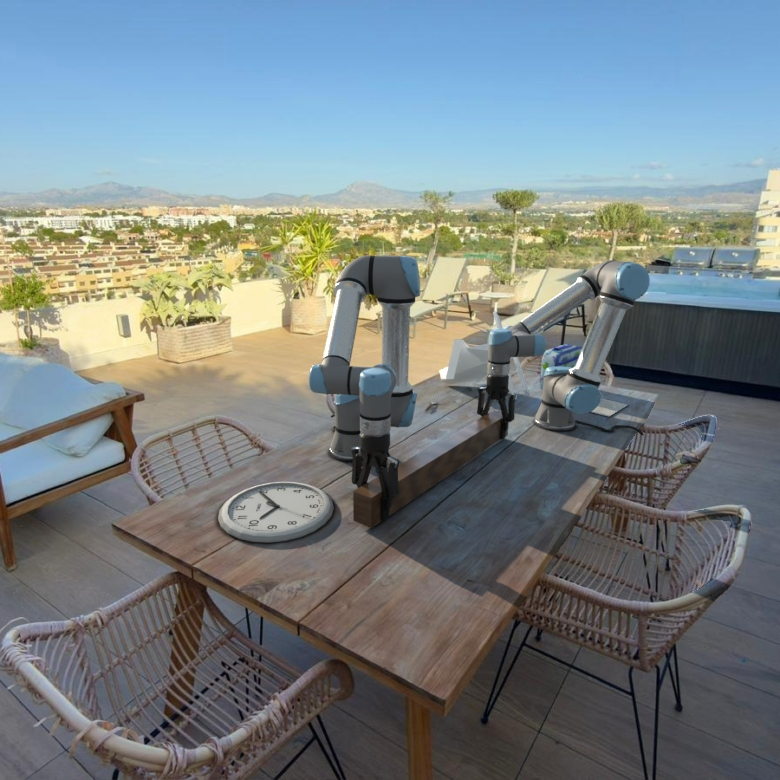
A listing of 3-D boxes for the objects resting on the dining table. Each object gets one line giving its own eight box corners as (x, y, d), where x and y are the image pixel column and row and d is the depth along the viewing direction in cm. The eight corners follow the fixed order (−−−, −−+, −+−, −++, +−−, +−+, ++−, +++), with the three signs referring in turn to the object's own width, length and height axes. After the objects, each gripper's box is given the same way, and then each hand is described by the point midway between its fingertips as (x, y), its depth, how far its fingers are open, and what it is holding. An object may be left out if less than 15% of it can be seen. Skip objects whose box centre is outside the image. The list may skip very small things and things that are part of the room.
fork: (422, 411, 216) (422, 407, 215) (433, 400, 230) (433, 396, 230) (428, 412, 215) (429, 407, 215) (438, 401, 230) (439, 396, 229)
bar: (492, 431, 193) (494, 409, 191) (507, 435, 190) (509, 413, 187) (353, 520, 133) (353, 490, 131) (371, 528, 130) (371, 498, 128)
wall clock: (332, 534, 126) (204, 538, 124) (332, 540, 127) (205, 544, 124) (334, 477, 155) (230, 480, 152) (334, 482, 155) (231, 485, 153)
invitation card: (608, 416, 214) (573, 407, 224) (608, 416, 214) (573, 408, 224) (628, 404, 229) (594, 396, 238) (628, 405, 229) (594, 397, 238)
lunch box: (556, 397, 238) (561, 352, 232) (535, 391, 245) (539, 348, 239) (582, 385, 256) (588, 344, 249) (562, 381, 263) (567, 340, 257)
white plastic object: (461, 429, 252) (437, 405, 227) (444, 352, 274) (420, 323, 250) (535, 404, 240) (518, 377, 215) (510, 326, 262) (492, 293, 237)
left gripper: (336, 427, 131) (337, 508, 138) (397, 446, 120) (395, 533, 127) (355, 418, 136) (356, 496, 144) (415, 436, 126) (412, 520, 133)
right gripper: (468, 372, 183) (465, 433, 190) (519, 381, 172) (514, 445, 179) (478, 367, 189) (475, 427, 196) (528, 376, 178) (523, 439, 185)
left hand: (374, 514), depth 135 cm, fingers closed on bar, 6 cm apart
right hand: (494, 436), depth 188 cm, fingers closed on bar, 6 cm apart
